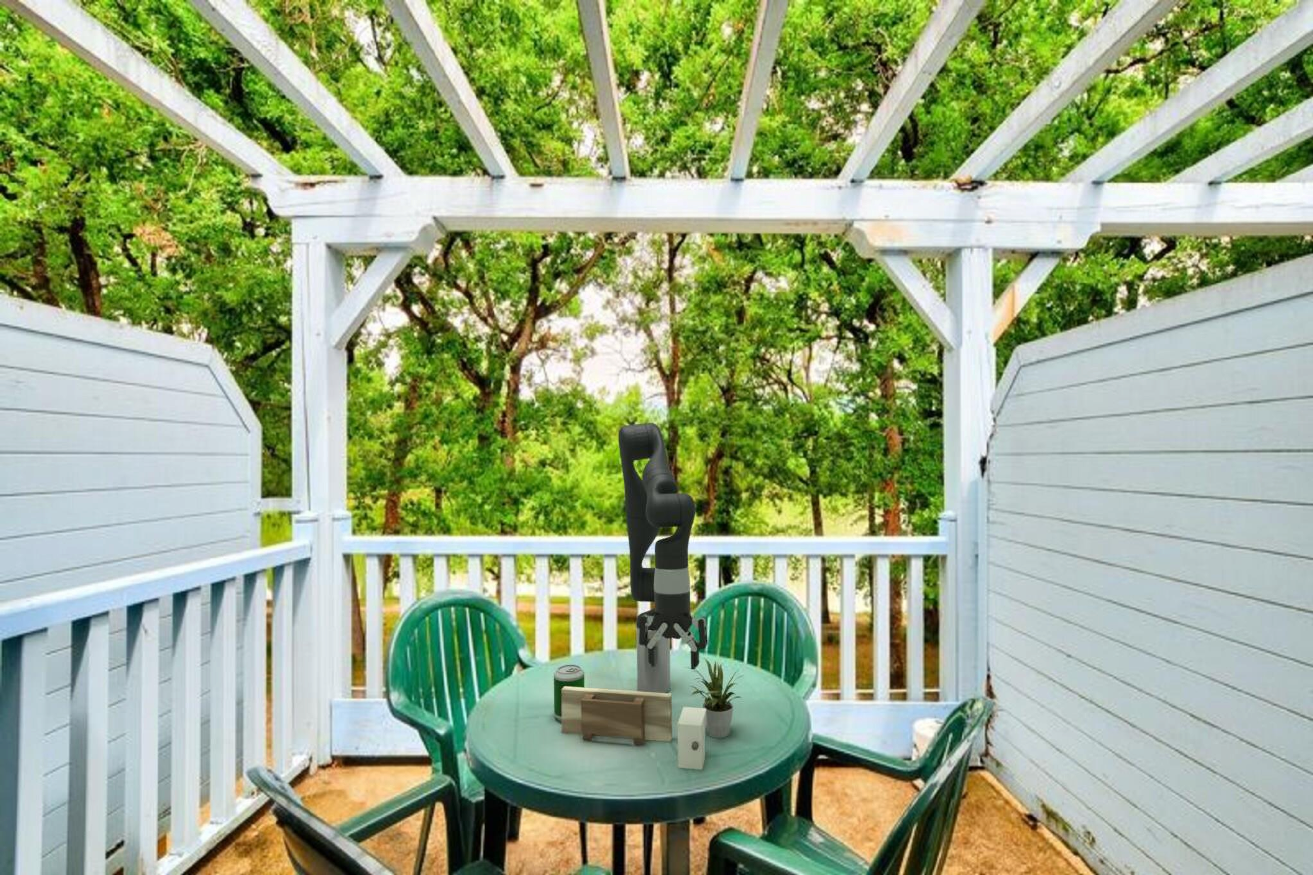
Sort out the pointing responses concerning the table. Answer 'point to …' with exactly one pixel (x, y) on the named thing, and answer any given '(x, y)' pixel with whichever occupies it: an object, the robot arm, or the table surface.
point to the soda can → (566, 684)
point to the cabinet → (691, 738)
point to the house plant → (717, 703)
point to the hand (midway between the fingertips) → (673, 667)
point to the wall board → (617, 714)
